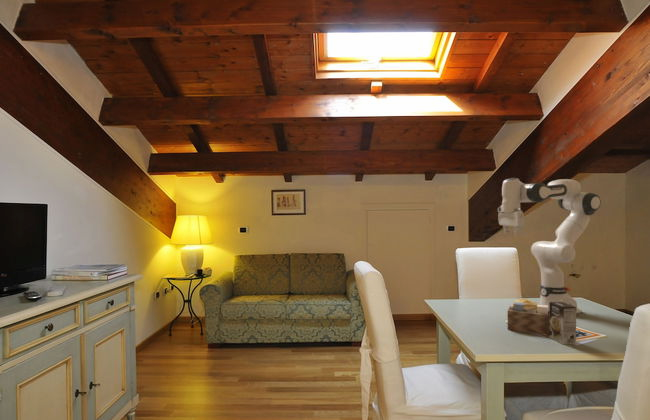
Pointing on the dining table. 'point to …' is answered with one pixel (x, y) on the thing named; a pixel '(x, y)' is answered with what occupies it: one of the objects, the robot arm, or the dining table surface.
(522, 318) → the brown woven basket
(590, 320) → the dining table surface
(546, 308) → the white key
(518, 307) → the blue key
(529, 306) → the sculpture
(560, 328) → the coffee box
